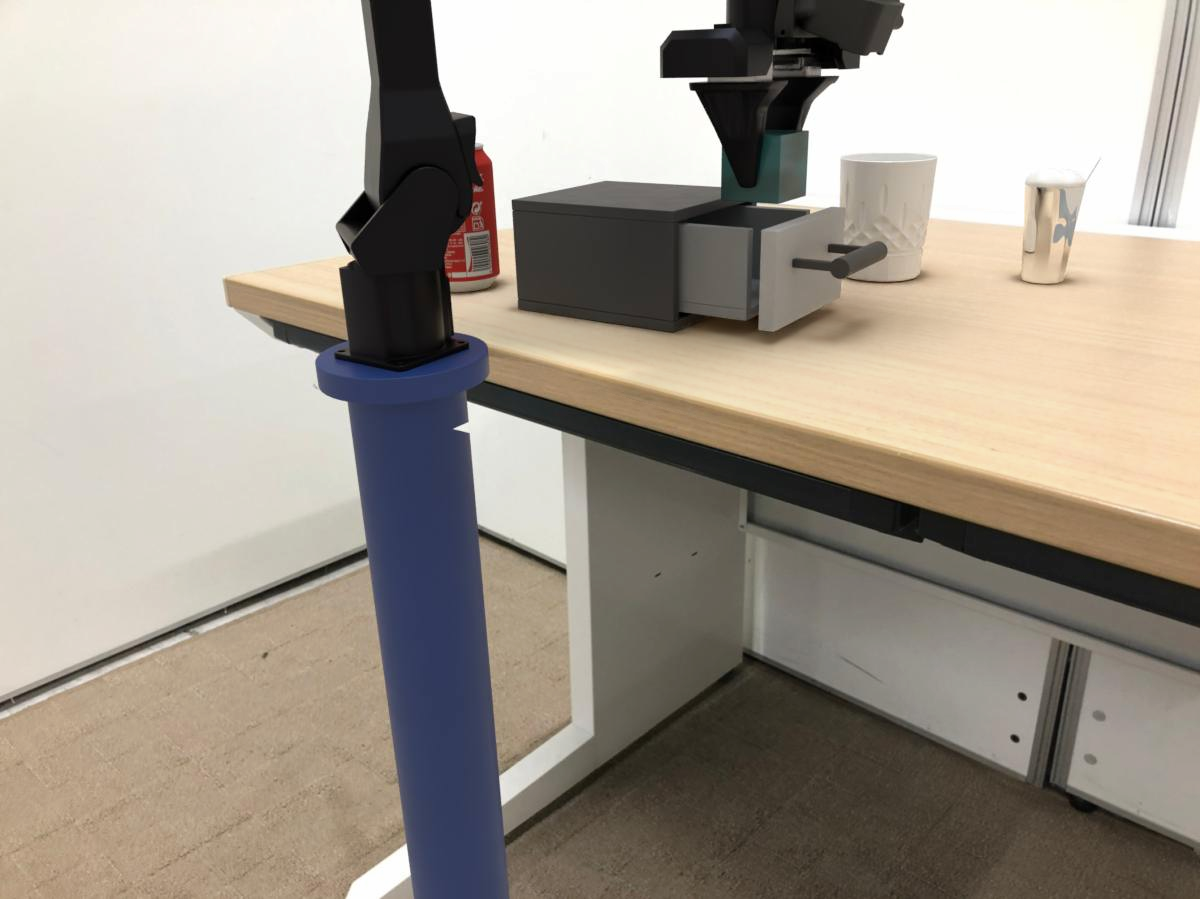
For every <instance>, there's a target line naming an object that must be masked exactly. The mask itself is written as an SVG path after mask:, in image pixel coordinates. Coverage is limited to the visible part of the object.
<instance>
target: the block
mask: <svg viewBox="0 0 1200 899" xmlns="http://www.w3.org/2000/svg"><path fill="white" fill-rule="evenodd" d="M809 137H810V130H806V129H804V130H803V129H802V130H765V131H764V138H763V146H762V153H761V161H760V167H759V172H758V178H757V183H756V186H755V187H754V188H742V187H740V186H739V184H738V182H737V179H736V177H735V175H734V172H733V170H732V168H731V165H730V163H729V161H728V159H727V156H726V154H725V152H724V149H723V147H722V146H721V160H720V162H721V164H720V165H721V166H720V168H721V169H720V172H721V173H720V187H721V200H722V201H737V202H753V203H757V204H769V205H780V204H783V203H787V202H790V201H794V200H797V199H800V198H803V197H806V196H807V180H808V162H809V161H808V160H809V141H810V140H809Z"/></svg>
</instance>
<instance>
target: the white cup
mask: <svg viewBox="0 0 1200 899" xmlns="http://www.w3.org/2000/svg"><path fill="white" fill-rule="evenodd" d="M839 159H840V160H839V207H845V208H846V212H845V229H844V244H845V245H857V246H866V245H868V244H871V243H873V242H875V241H881V242H883V243H884V244H885V245H886V246H887V249H888V252H887V256H886V257H885V258H884V259H883V260H881V261H879V262H877V263H875V264H873V265H870V266H868V267H866V268H864V269H862V270H860V271H858V272H856V273H854V274H852V275H850V276H848V277H847V278H849V279H853V280H858V281H866V282H878V283H880V282H882V283H883V282H884V283H885V282H887V283H889V282H903V281H909V280H912V279H913V280H914V279H915V278H917V277H918V276H919V275H920V274H921V270H922V269H921V268H922V262H923V261H922V260H923V253H924V248H923V247H924V245H925V243H926V239H927V234H928V224H929V221H930V215H931V208H932V201H933V193H934V185H935V178H936V172H937V164H938V159H939V158H938V156H937V155H936V154H931V153H924V152H906V151H877V152H876V151H875V152H874V151H873V152H872V151H871V152H857V153H848V154H844V155H842V156H840V158H839ZM843 255H845V254H843Z"/></svg>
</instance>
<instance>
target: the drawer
mask: <svg viewBox="0 0 1200 899" xmlns="http://www.w3.org/2000/svg"><path fill="white" fill-rule="evenodd" d="M845 212H846V208H845V207H840V206H828V207H826V208H823V209H820V210H817V211H815V212H811V209H809V208H794V207H793V208H792V207H779V206H778V207H775V206H764V205H757V206H749V205H734V206H731V207H727V208H724V209H720V210H717V211H713V212H710V213H706V214H702V215H699V216H695V217H692V218H688V219H685V220H681V221H678V222H679V312H685V313H692V314H699V315H706V316H709V317H713V318H720V319H721V318H723V319H730V320H735V321H744V322H746V321H749V320H750V319H753V318H755V317H757V316H758V323H757V324H758V326H757V327H758V328H757V329H758V331H763V332H771V333H774V332H776V331H778V330H781V329H782V328H785V327H786V326H789V325H790V324H792V323H794V322H796V321H798V320H800V319H802V318H804V317H806V316H808V315H809V314H811V313H813V312H815V311H817V310H819V309H821V308H824V307H825V306H827V305H829V304H831V303H833V302H835V301H837V300H839V299H840V298H841V292H842V291H841V290H842V280H843V279H846V278H849V277H848V276H850V275H852V274H854V273H856V272H858V271H860V270H862V269H864V268H866V267H868V266H870V265H873V264H875V263H877V262H879V261H881V260H883V259H884V258H885V257H886V256H887V252H888V249H887V246H886V245H885V244H884V243H883V242H881V241H875V242H873V243H871V244H868V245H866V246H857V245H845V244H844V229H845ZM843 254H845V255H843Z"/></svg>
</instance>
